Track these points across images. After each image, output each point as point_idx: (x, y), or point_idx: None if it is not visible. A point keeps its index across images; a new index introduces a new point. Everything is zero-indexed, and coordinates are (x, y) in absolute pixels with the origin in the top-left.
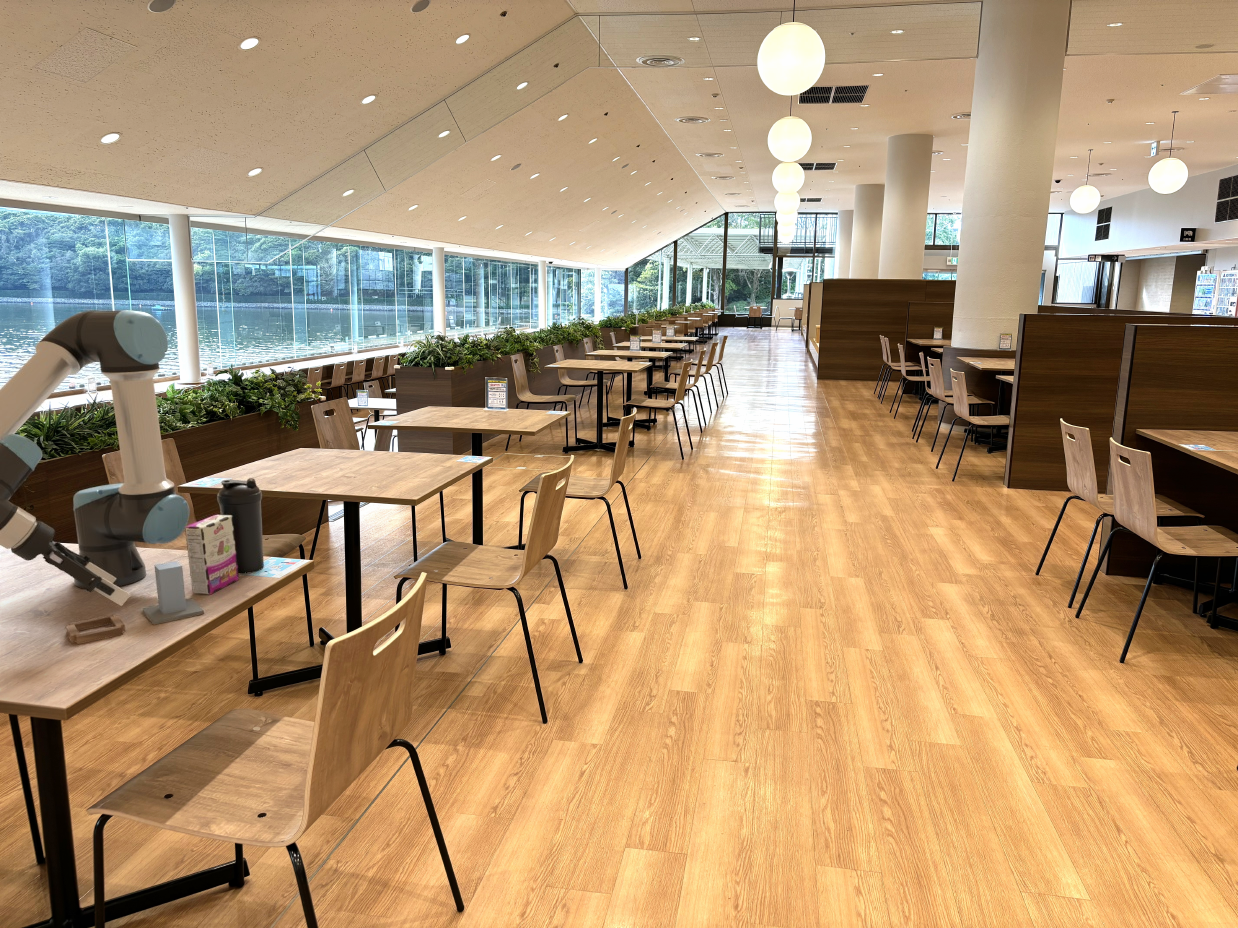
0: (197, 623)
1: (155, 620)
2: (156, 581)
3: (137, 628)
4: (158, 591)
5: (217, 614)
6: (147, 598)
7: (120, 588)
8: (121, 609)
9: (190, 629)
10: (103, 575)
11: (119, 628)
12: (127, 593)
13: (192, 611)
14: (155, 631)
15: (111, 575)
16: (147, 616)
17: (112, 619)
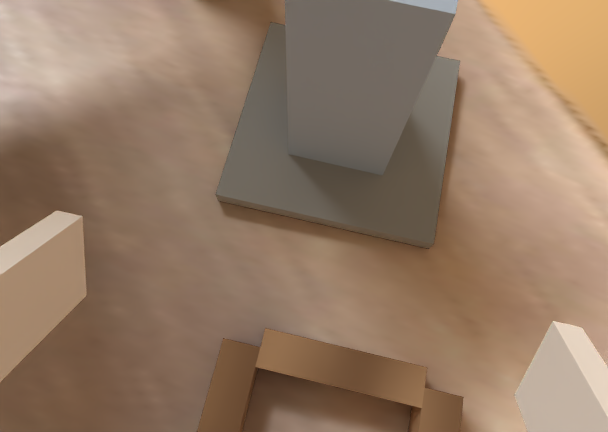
0: (547, 134)
1: (432, 232)
2: (299, 71)
3: (421, 314)
4: (322, 110)
5: (500, 47)
6: (69, 113)
7: (600, 390)
8: (103, 245)
9: (599, 181)
10: (22, 293)
11: (459, 409)
12: (592, 349)
13: (440, 91)
14: (520, 281)
15: (47, 235)
16: (317, 221)
17: (301, 375)
